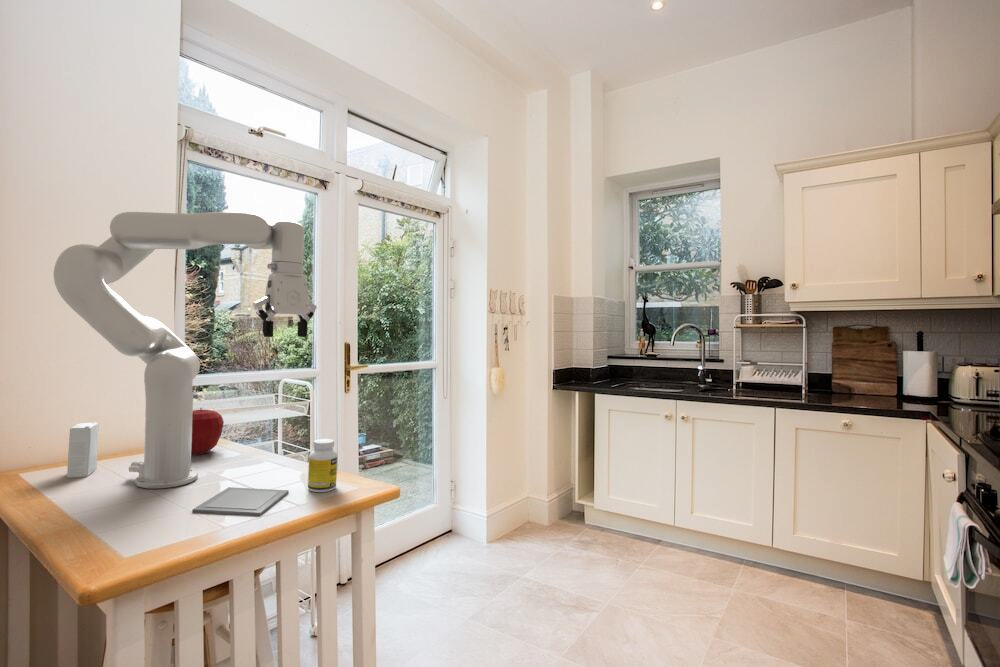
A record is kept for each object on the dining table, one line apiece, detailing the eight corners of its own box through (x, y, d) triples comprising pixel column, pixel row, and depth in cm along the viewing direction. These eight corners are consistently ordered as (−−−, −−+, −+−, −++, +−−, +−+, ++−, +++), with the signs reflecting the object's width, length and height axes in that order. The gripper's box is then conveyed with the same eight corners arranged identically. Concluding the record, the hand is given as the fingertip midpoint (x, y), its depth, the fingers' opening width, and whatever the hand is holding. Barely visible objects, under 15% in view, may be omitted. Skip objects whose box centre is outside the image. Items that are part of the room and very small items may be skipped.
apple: (228, 454, 148) (230, 408, 147) (182, 460, 139) (184, 412, 139) (214, 445, 156) (216, 402, 156) (170, 451, 148) (172, 405, 147)
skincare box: (75, 471, 127) (77, 422, 126) (98, 469, 128) (99, 422, 128) (66, 478, 121) (67, 427, 121) (89, 477, 123) (90, 427, 122)
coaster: (192, 512, 105) (192, 508, 105) (228, 489, 119) (228, 486, 119) (260, 515, 105) (260, 512, 105) (288, 492, 119) (288, 489, 119)
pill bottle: (327, 494, 119) (329, 445, 118) (302, 491, 120) (304, 442, 120) (341, 486, 125) (343, 439, 125) (317, 483, 126) (319, 436, 126)
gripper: (264, 266, 122) (262, 337, 122) (325, 273, 136) (323, 337, 136) (246, 267, 126) (245, 336, 126) (307, 273, 140) (305, 335, 141)
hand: (285, 336), depth 131 cm, fingers open, 9 cm apart
